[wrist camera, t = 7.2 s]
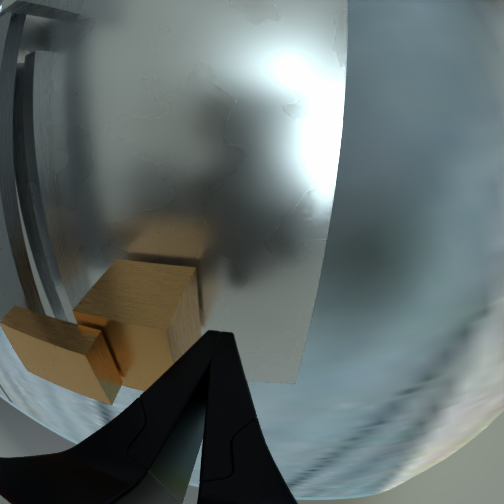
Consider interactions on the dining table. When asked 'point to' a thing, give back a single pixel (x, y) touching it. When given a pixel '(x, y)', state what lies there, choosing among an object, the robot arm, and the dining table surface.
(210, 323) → the grey piece
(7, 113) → the strap
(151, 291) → the tab
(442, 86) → the dining table surface
